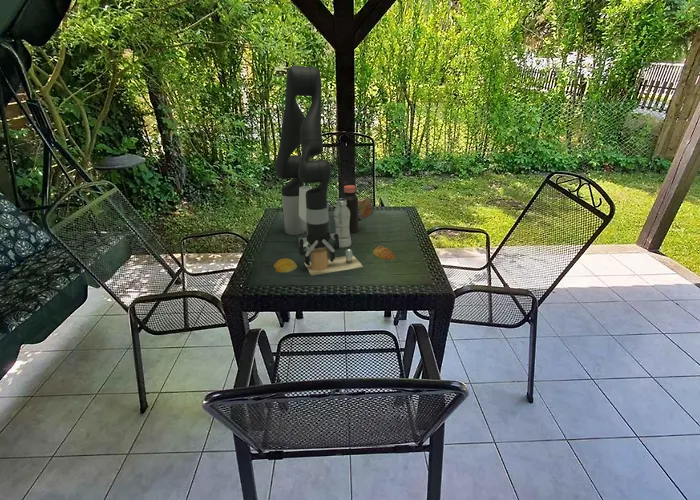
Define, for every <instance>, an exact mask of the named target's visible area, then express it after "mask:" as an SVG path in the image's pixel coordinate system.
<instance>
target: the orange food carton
mask: <svg viewBox="0 0 700 500" xmlns="http://www.w3.org/2000/svg"><path fill="white" fill-rule="evenodd" d="M373 210H374V200H373V198H371V197H364V198H362V199H360V200H358V220H363V219H365V218H367V217H368V216H370V215H371V214H372V213H373Z"/></svg>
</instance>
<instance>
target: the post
mask: <svg viewBox="0 0 700 500" xmlns="http://www.w3.org/2000/svg"><path fill="white" fill-rule="evenodd" d="M352 255H353V250H352V249H350V248H346V249H345V256H346V263H348V264H350V263H352Z"/></svg>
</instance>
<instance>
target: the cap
mask: <svg viewBox="0 0 700 500" xmlns="http://www.w3.org/2000/svg"><path fill="white" fill-rule="evenodd" d="M328 255H329V252H328V248H327V247H324V248H317V249H315V248H314V249H313V250H312V251H311V252H310V262H311V267H312V269H314V270H318V271H321V270H325V269H327V268H328V259H329V256H328Z"/></svg>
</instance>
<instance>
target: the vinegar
mask: <svg viewBox="0 0 700 500" xmlns="http://www.w3.org/2000/svg"><path fill="white" fill-rule="evenodd" d="M343 193H344V195H343V196H342V197H341V199H346V203H347V205H346V206H347V207H348V209H349V210H350V221H349V231H350V234H355V233H357V232H358V231H359V219H358V201H359V197H358V196H357V195H356V186H355V185H353V184H350V185H349V184H347V185H344V186H343Z"/></svg>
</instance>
